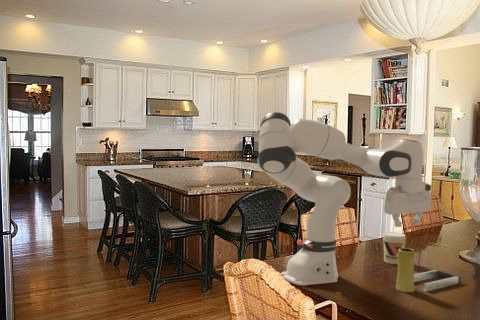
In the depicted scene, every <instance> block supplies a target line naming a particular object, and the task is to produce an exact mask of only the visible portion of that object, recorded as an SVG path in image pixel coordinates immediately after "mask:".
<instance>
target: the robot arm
mask: <svg viewBox="0 0 480 320" xmlns="http://www.w3.org/2000/svg"><path fill="white" fill-rule="evenodd" d="M300 152H301V153H305V154H309V155H312V156H314V157H317V158H320V159H326V160H332V161H335V160H337V159H338V160H341V161H344V162H347V163H349V164H353V166H354V165H355V166H356V167H357V168H358V169H359V170H360V171H361V172H363V174H366V175H368V176H377V177H384V178H394V177H395V182H394V183H395V184H394V186H393V187H392V186H391V187H389V189H388V190H386V191H387V192H386V195H385V199H384V204H383V207H384V208H383V211H384V213H385V214H387V215H390V216H391V215H392V220H393V222H394V227H396V228H400V227H402V221H400V217H401V215H404V214H415V217H414V218H413V219H412V220H413V221H412V223H413V225H416V226H417V225H420V224H421V218H422V217H423V213H424V212H429V211H430V210H431V208H432V193H431V192H432V190H433V186H432V184H430V183H427V182H425V181H423V179H424V178H423V171H422V170H423V168H424V149H423V145H422V143H421V142H419V141H417V140H412V139H407V138H404V139H400V140H398V142H397V143H395V144H394V145H391V146H389V147H387V148H377V147H366V148H365V147H364V148H363V147H362V148H361V147H359V146H356V145H354V144H351V143H348V142H347V138H346V136H345V133H344V132H343V131H342V130H340V129H338V128H337V127H334V126H332V125H329V124H327V123H323V122H320V121H317V120H312V119H306V118H298V119H296V120H294V121H293V122H292V123H291V120H290V118H289V117H288V116H287V115H286V114H285V113H282V112H278V111H274V112H270V113H269V112H268V113H267V114H266V115H265V116H264V117H263V118H262V120H261V124H260V130H259V134H258V155H257V165H258V167H259V169H261V171H262V172H264V173H265V175H267V176H268V177H270V178H272V179H273V180H275V181H277V182H278V183H281V184H282V185H283V186H285V187H287V188H290V189H291V190H293V191H294V192H295V193H296V194H297V196H299V197H300V198H302V199H304V200H306V201H308V202H313V203H315V204H314V208H313V211H312V213H311V214H309V215H307V218H306V221H305V222H306V226H305V227H306V228H305V229H306V230H305V238H304V239H303V240H301V239H297V241H296V243H297V245H298V246H301V249H299V250H298V251H297V252H296V253H295V254H294V255H293V256H292V257H291V258H290V259H289V260H288V261H287V266H286V271H285V270H284V271H282V272H281V273H280V275H281V274H282V275H283V277H284V278H285V279H286V280H285V279H284V280H285V281H287V282H289V283H291V284H294V285H298V286H309V285H310V286H311V285H321V284H322V285H323V284H330V283H331V284H333V283H337V282H338V279H339V274H338V273H339V272H338V269H337V261H336V260H337V259H336V250H337V239H336V229H337V228H336V227H337V219H338V215H339V212H340V210H341V208H342V207H343V206H344V205H346V203H347V202H348V201H349V200H350V198H351V193H352V191H351V190H352V189H351V186H350V184H349V182H348V181H347V180H345V179H344V178H343V179H342V178H341V177H338V176H336V175H328V174H327V175H326V174H321V173H318V172H315V171H314V170H312V169H311V167H310V165H309V164H308V163H307V162H305V160H302V159H300V157H297V153H300Z"/></svg>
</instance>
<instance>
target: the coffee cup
mask: <svg viewBox="0 0 480 320" xmlns="http://www.w3.org/2000/svg"><path fill="white" fill-rule="evenodd" d="M382 237H383V238H382V239H383V261H384V262H385V263H387V264H389V265H390V264H392V265H398V249H399V248H406V240H407V239H406V238H407V236H406V234H404V233H401V232H396V231H386V232H384V233H383V234H382Z"/></svg>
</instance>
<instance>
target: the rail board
mask: <svg viewBox="0 0 480 320" xmlns="http://www.w3.org/2000/svg"><path fill="white" fill-rule="evenodd" d="M435 278H440V279H439V280H433V281H430V282H426V283H423V291H424V292H430V291H434V290H438V289H441V288H447V287H450V286H455V285H458V284H461V282H462V276H460V275H457V274H454V273H451V272H447V271H444V270H441V269H439V268H438V269H433V270H429V271H424V272H420V273H414V283H417V282H422V281H426V280H430V279H435Z"/></svg>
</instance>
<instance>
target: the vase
mask: <svg viewBox="0 0 480 320" xmlns="http://www.w3.org/2000/svg"><path fill="white" fill-rule="evenodd" d="M396 274H397V275H396V282H395V289H396V291H398V292H401V293H413V292H414V291H415V287H414V286H415V282H414V274H415V250H414V249H412V248H409V247H405V248H399V249H398V264H397V273H396Z"/></svg>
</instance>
